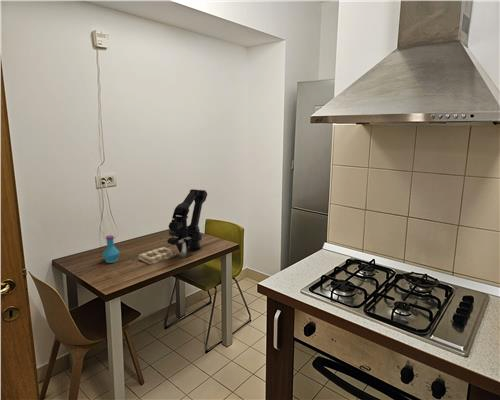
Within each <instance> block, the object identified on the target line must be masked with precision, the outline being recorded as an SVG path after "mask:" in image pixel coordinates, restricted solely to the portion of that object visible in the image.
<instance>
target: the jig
mask: <svg viewBox="0 0 500 400" xmlns="http://www.w3.org/2000/svg"><path fill="white" fill-rule="evenodd" d="M176 255H177V254H176V251H175V250H173V249H171V248H168V247H165V246H162V247H158V248H156V249H152V250H150V251H146V252H143V253H139V254H138V260H139V261H141V262H144V263H147V264H149V265H154V264H156V263H159V262H162V261H166V260H168V259H171V258H174V257H176Z"/></svg>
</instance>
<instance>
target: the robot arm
mask: <svg viewBox="0 0 500 400" xmlns="http://www.w3.org/2000/svg"><path fill="white" fill-rule="evenodd" d="M207 197H208V192H207V191H206V190H205V189H195V188H194V189H193V188H192V189H190V190H189V193H188V194H187V195H186V197H184V198H185V199H184V200H183V201H182V202H181V203H179V204H177V205H176V206H175V208H174V210H173V214H172V217H171V222H169V224H168V229H169V230H168V235H169V236H170V237H169V238H167V244H170V245H172V246H174V245H176V248H177V249H178V252H179V254H180V253H181V251H182V243H181V241H186V252H187V251H188V250H190V251H193V252H194V251H197V250H199V249H202V247H201V246H200V241H202V239H203V235H202V234H201V233H200V232H201V230H200V226H199V222H200V217H201V212H202V207H203V204H204V203H205V202H206V199H207ZM193 202H194V205H193V211H192V214H191V220H190V224H189V225H188V221H187V220H188V219H189V216H188V215H189V212H190V207H191V205H192V204H193Z"/></svg>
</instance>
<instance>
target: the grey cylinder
mask: <svg viewBox="0 0 500 400" xmlns="http://www.w3.org/2000/svg"><path fill="white" fill-rule="evenodd" d="M181 243H182V251H181V253H180V252H179V257H180V258H186V257H187V255H188V254H187V251H186V241H184V240H181Z"/></svg>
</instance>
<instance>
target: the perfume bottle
mask: <svg viewBox="0 0 500 400" xmlns="http://www.w3.org/2000/svg"><path fill="white" fill-rule="evenodd" d="M114 237H115V236H114V235H111V234H110V235H107V236H105V239H106V248H105V249H104V250H103V253H102V256H103V257H102V258H103V259H104V261H105V263H115V262H117V261H118V260H119V256H120V250H119V249H117V247H116V246H115V244H114Z"/></svg>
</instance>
